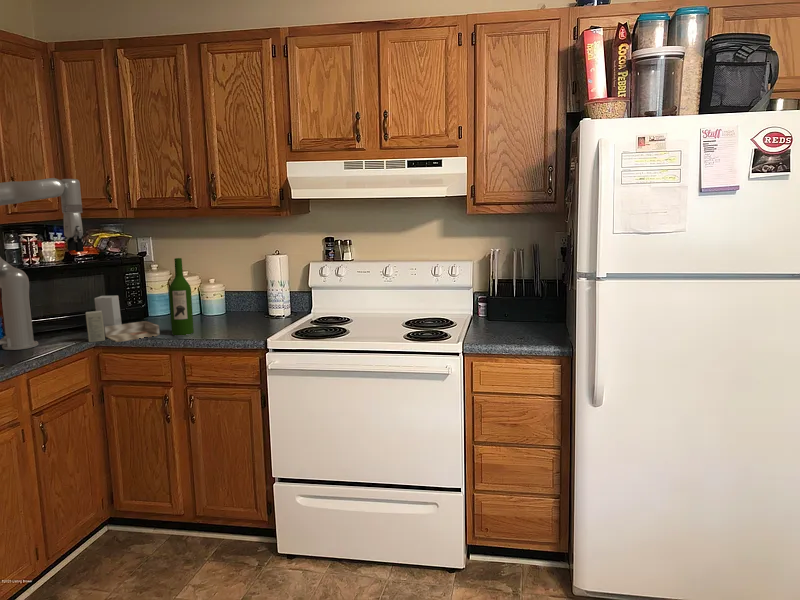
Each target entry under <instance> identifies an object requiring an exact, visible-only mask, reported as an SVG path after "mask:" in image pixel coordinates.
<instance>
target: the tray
mask: <svg viewBox="0 0 800 600" xmlns="http://www.w3.org/2000/svg"><path fill="white" fill-rule="evenodd" d="M104 331H105V332H104V334H105V339H108V340H111V341H113V342H115V343H121V342H128V341H133V340H140V339H139V338H141V339H145V338H144V337H148V338H152V336H154V337H159V336H158V335H160V336H161V334H160V332H161V331H160V325H159V324H156V323H154V322H151V321H148V320H145V321H143V320H142V321H136V322H128V323H122V324H120V325H113V326H106V327H104Z"/></svg>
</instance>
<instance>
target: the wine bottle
mask: <svg viewBox="0 0 800 600" xmlns="http://www.w3.org/2000/svg"><path fill="white" fill-rule="evenodd" d="M183 271H184V270H183V258H182V257H176V258H174V275H175V276H174V278H173V280H171V283H170V285H169V289H168V292H169V293H168V294H169V307H170V308H169V309H170V321H171V322H170V323H171V325H170V326H171V334H172V335H173V336H175V335H184V336H187V335H186V334H190V335H192V334H191V333H193V334H194V332H195V330H194V329H195V328H194V316H193V314H194V312H193V302H192V288H191V284H190V283H189V282H188V281H187V279H186V278H185V276H184V272H183Z"/></svg>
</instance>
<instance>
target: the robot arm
mask: <svg viewBox="0 0 800 600" xmlns="http://www.w3.org/2000/svg"><path fill="white" fill-rule="evenodd" d="M81 190H82V189H81V183H80V180H79V179H77V178H62V179H59V178H55V177H51V178H50V177H49V178H44V179H36V180H35V179H34V180H26V181H24V180H23V181H19V180H18V181H16V180H15V181H5V182H0V206H7V205H14V204H21V203H25V202H31V201H38V200H44V199H45V200H47V199H52V198H53V199H54V198H58V197H60V203H61V212H62V214H63V235H64V237H66V241H67V242H66V244H67V251H68V252H69V251H71V252H72V251H75V252H76V253H82V252H83V253H84V252H85V250H84V239H83V238H84V236H83V234H84V230H83V229H84V228H83V222H82V215H81V214H83V203H82V193H81ZM29 280H30V279H29V276H28V275H27V274H26V272H25V271H24V270H22V269H21V268H20V269H19V268H17V267H14V266H13V265H11V264H10V263H9V262H7V261H6V260H4V259H3V258H2V257H1V256H0V289H1V303H2V314H3V315H2V316H3V322H4V333H5V335H4V336H3V338H1V339H0V346H1V347H2V350H6V351H20V350H26V349H31V348H35V347H37V346H39V341H37V340H34V330H33V320H32V310H31V302H30V281H29Z"/></svg>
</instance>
